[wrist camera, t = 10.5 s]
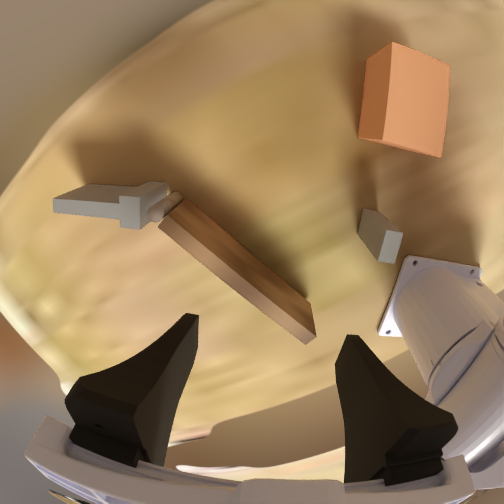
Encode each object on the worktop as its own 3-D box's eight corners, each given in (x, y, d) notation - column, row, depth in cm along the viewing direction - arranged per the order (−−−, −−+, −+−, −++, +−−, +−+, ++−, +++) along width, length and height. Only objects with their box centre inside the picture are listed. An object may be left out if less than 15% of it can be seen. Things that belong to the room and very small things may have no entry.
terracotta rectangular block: (415, 75, 16) (450, 65, 11) (406, 150, 18) (441, 158, 13) (366, 59, 16) (392, 41, 11) (357, 137, 18) (382, 140, 13)
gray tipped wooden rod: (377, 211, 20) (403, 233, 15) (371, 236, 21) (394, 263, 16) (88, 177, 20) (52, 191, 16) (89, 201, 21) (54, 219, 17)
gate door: (310, 303, 23) (316, 336, 19) (301, 310, 23) (305, 344, 19) (175, 188, 20) (153, 202, 16) (167, 198, 20) (144, 215, 16)
